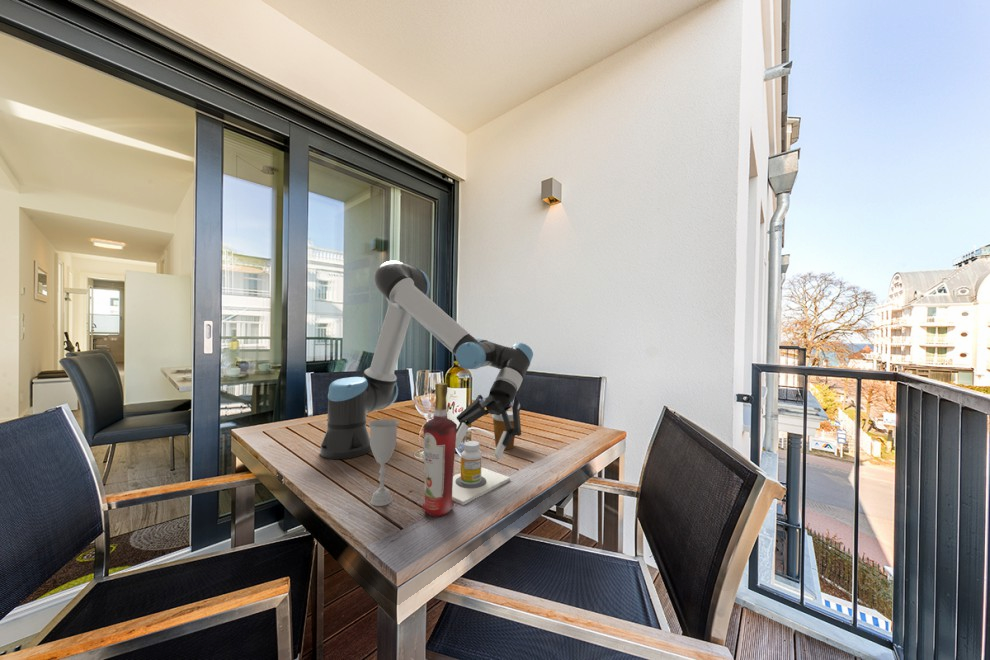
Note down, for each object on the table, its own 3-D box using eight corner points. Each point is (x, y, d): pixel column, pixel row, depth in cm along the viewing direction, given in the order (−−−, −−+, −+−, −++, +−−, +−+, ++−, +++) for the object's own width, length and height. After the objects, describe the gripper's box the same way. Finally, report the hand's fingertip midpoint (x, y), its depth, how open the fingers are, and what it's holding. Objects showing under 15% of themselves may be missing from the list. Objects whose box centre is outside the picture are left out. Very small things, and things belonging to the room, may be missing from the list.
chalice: (402, 501, 79) (404, 423, 79) (374, 511, 74) (376, 428, 75) (388, 490, 84) (390, 417, 85) (360, 499, 80) (363, 422, 80)
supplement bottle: (463, 475, 92) (464, 439, 92) (483, 477, 91) (484, 441, 91) (457, 484, 87) (458, 445, 87) (478, 486, 86) (479, 447, 86)
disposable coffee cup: (515, 452, 114) (516, 416, 114) (488, 449, 116) (489, 414, 116) (519, 443, 124) (520, 410, 124) (493, 441, 126) (494, 408, 126)
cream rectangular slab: (477, 468, 100) (477, 465, 100) (510, 480, 92) (510, 476, 92) (428, 489, 86) (429, 485, 86) (463, 505, 78) (463, 500, 78)
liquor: (413, 512, 74) (417, 384, 75) (437, 499, 80) (440, 380, 81) (438, 524, 70) (442, 387, 70) (461, 509, 76) (464, 383, 76)
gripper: (547, 399, 97) (521, 469, 85) (476, 389, 111) (445, 448, 98) (540, 383, 93) (511, 453, 80) (467, 374, 106) (432, 434, 94)
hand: (474, 451), depth 89 cm, fingers open, 13 cm apart
